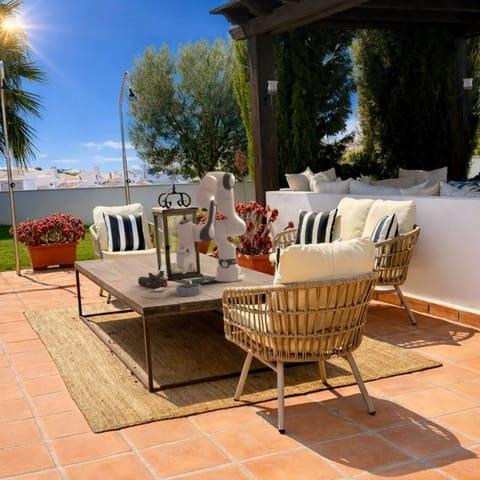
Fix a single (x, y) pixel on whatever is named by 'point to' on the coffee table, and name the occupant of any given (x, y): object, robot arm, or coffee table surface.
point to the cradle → (159, 292)
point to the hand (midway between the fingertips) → (187, 272)
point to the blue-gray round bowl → (188, 290)
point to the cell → (188, 284)
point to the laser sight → (153, 280)
